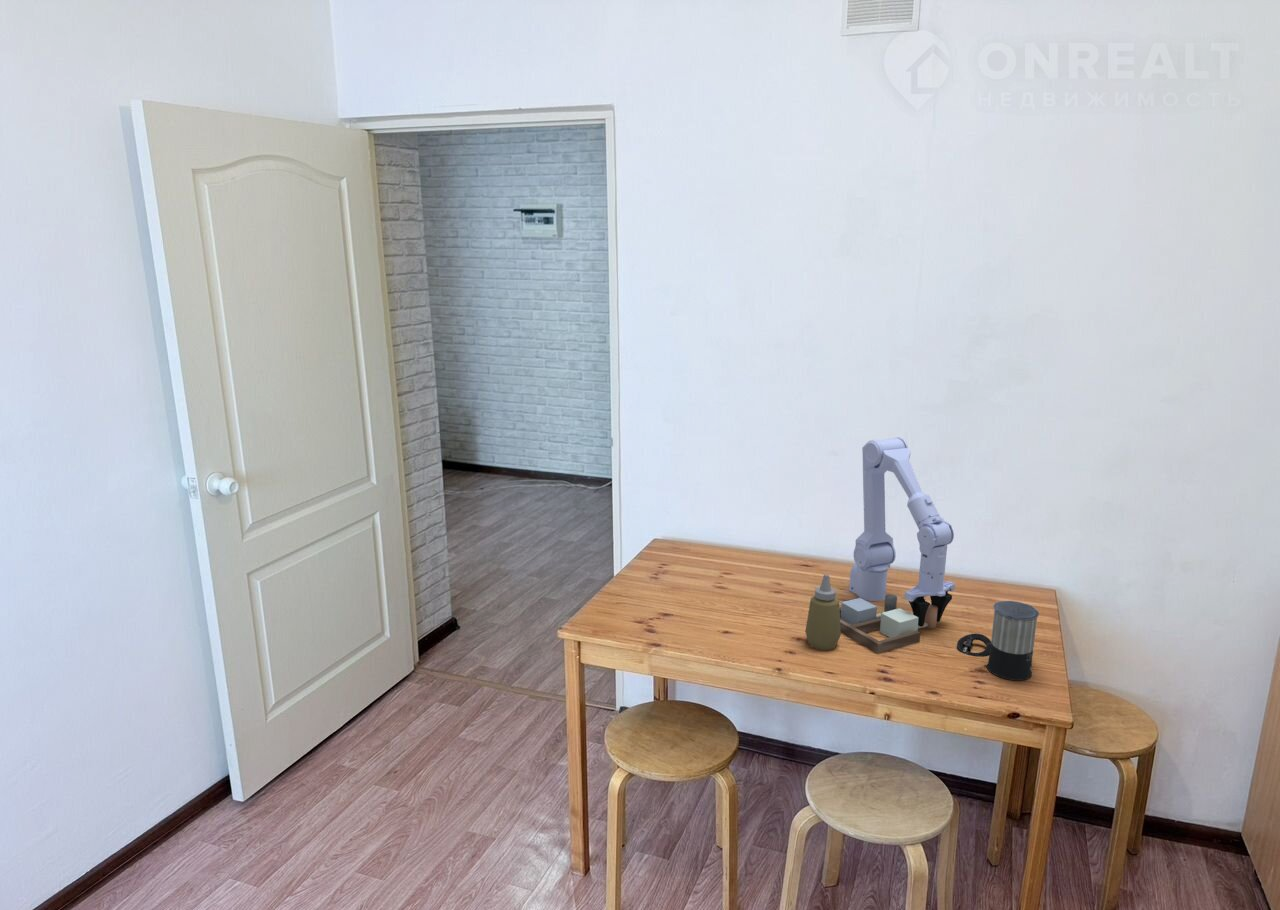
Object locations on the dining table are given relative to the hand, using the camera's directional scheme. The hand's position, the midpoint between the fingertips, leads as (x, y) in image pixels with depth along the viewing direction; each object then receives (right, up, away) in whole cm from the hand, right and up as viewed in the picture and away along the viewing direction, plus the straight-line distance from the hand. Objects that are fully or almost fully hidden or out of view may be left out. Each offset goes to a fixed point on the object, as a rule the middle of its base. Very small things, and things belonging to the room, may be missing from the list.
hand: (927, 622), depth 200 cm
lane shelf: (-8, -2, +1) cm, 8 cm away
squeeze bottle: (-28, -4, -8) cm, 29 cm away
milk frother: (+9, -6, -16) cm, 19 cm away
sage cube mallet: (-4, -2, -2) cm, 5 cm away
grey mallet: (-13, 0, +4) cm, 13 cm away
